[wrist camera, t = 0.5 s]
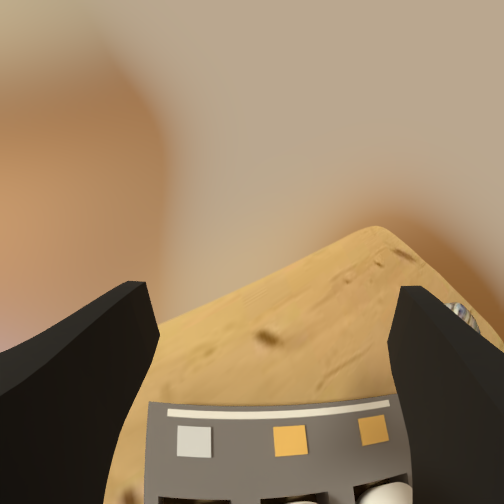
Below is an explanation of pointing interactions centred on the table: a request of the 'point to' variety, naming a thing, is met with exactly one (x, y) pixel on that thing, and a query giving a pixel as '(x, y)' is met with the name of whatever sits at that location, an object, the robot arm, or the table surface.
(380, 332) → the table surface
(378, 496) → the button
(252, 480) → the switch console
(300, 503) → the button middle
